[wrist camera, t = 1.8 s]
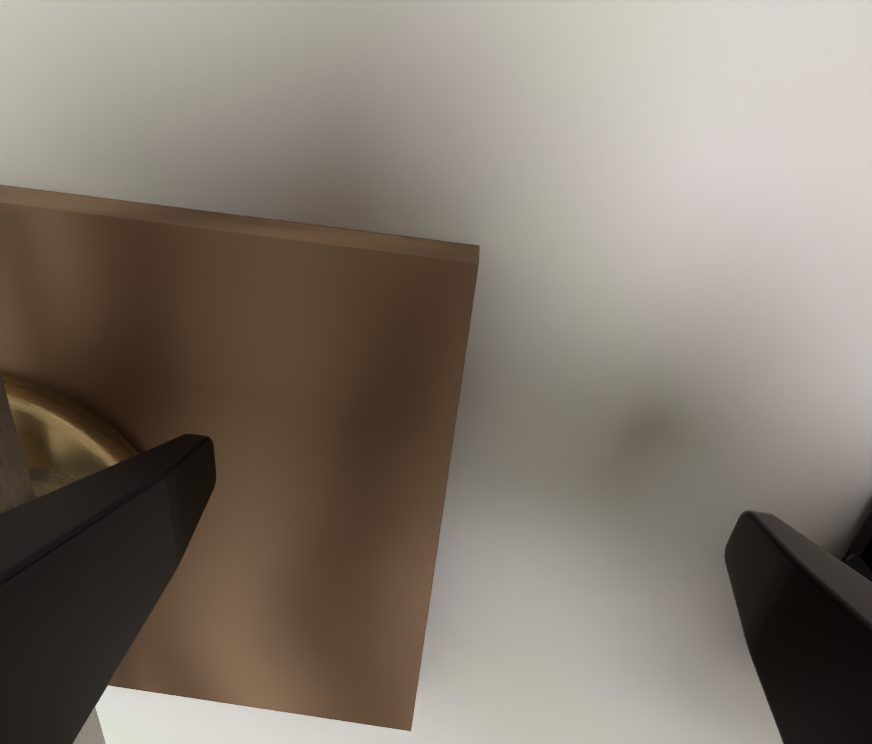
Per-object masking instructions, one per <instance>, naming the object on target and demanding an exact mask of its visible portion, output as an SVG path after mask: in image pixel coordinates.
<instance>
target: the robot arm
mask: <svg viewBox="0 0 872 744" xmlns="http://www.w3.org/2000/svg"><path fill="white" fill-rule="evenodd" d="M215 484H216V464H215V453H214V444H213V441H212V439H211V438H210V437H209V436H205V435H198V434H190V433H187V434H184V435H181V436H179V437H177V438H174V439H172V440H170V441H167V442H165V443H163V444H161V445H158V446H156V447H154V448H151V449H149V450H147V451H144V452H142V453H140V454H137V455H135V456H133V457H131V458H128V459H126V460H124V461H121V462H119V463H117V464H114V465H112V466H110V467H107V468H105V469H103V470H100V471H98V472H96V473H94V474H91V475H89V476H87V477H84V478H82V479H80V480H77V481H75V482H73V483H70V484H68V485H66V486H64V487H61V488H59V489H57V490H54V491H52V492H50V493H47V494H45V495H43V496H40V497H38V498H36V499H34V500H31V501H29V502H27V503H24V504H22V505H20V506H17V507H15V508H13V509H10V510H8V511H6V512H4V513H1V514H0V744H73V743H74V741H75V739H76V738H77V736H78V734H79V733H80V731H81V729H82V728H83V726H84V724H85V723H86V721H87V719H88V717H89V716H90V714H91V712H92V711H93V709H94V707H95V706H96V704H97V702H98V701H99V699H100V697H101V696H102V694H103V692H104V691H105V689H106V687H107V686H108V684H109V682H110V681H111V679H112V677H113V676H114V674H115V672H116V671H117V669H118V667H119V666H120V664H121V662H122V661H123V659H124V657H125V656H126V654H127V652H128V650H129V649H130V647H131V645H132V644H133V642H134V640H135V639H136V637H137V635H138V634H139V632H140V630H141V629H142V627H143V625H144V624H145V622H146V620H147V619H148V617H149V615H150V614H151V612H152V610H153V609H154V607H155V605H156V604H157V602H158V600H159V599H160V597H161V595H162V594H163V592H164V590H165V588H166V587H167V585H168V583H169V582H170V580H171V578H172V577H173V575H174V573H175V571H176V570H177V568H178V566H179V564H180V562H181V560H182V558H183V556H184V554H185V552H186V549H187V547H188V545H189V543H190V541H191V538H192V536H193V534H194V532H195V530H196V527H197V525H198V523H199V521H200V519H201V516H202V514H203V512H204V510H205V508H206V505H207V503H208V501H209V499H210V497H211V494H212V492H213V490H214V487H215ZM724 556H725V563H726V567H727V571H728V575H729V579H730V582H731V586H732V590H733V594H734V598H735V602H736V605H737V609H738V613H739V617H740V621H741V625H742V628H743V632H744V636H745V639H746V643H747V646H748V649H749V652H750V655H751V658H752V661H753V664H754V666H755V669H756V672H757V674H758V677H759V680H760V682H761V685H762V688H763V690H764V693H765V696H766V698H767V701H768V704H769V706H770V709H771V712H772V714H773V717H774V720H775V722H776V725H777V728H778V730H779V733H780V735H781V738H782V741H783V743H784V744H872V511H871V513H870V515H869V516H868V518H867V520H866V521H865V523H864V525H863V526H862V528H861V530H860V531H859V533H858V535H857V536H856V538H855V540H854V541H853V543H852V545H851V546H850V548H849V550H848V551H847V553H846V555H845V556H844V558H843V560H842V561H840V560H838V559H837V558H836V557H834V556H833V555H831V554H830V553H828V552H827V551H825V550H824V549H822V548H821V547H819V546H818V545H817V544H815V543H814V542H812V541H811V540H809V539H808V538H806V537H805V536H803V535H802V534H800V533H799V532H798V531H796V530H795V529H793V528H792V527H790V526H789V525H787V524H786V523H784V522H783V521H781V520H780V519H779V518H777V517H776V516H774V515H772V514H769V513H763V512H756V511H745V512H743V513H742V514H741V515H740V517H739V519H738V521H737V523H736V525H735V527H734V530H733V532H732V534H731V536H730V538H729V540H728V543H727V545H726V548H725V555H724Z"/></svg>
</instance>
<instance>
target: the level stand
mask: <svg viewBox="0 0 872 744" xmlns="http://www.w3.org/2000/svg"><path fill="white" fill-rule="evenodd" d="M478 264H479V246H475V245H467V244H459V243H451V242H444V241H436V240H428V239H420V238H412V237H404V236H396V235H388V234H381V233H373V232H365V231H357V230H349V229H341V228H333V227H325V226H318V225H310V224H302V223H294V222H286V221H278V220H270V219H262V218H255V217H247V216H239V215H231V214H223V213H215V212H207V211H199V210H192V209H184V208H176V207H168V206H160V205H152V204H144V203H136V202H129V201H121V200H113V199H105V198H97V197H89V196H81V195H73V194H66V193H58V192H50V191H42V190H34V189H26V188H18V187H10V186H3V185H0V373H1V375H4V376H9V377H14V378H17V379H21V380H24V381H27V382H31V383H34V384H37V385H39V386H42V387H44V388H46V389H49V390H51V391H54V392H56V393H58V394H60V395H62V396H64V397H66V398H68V399H70V400H72V401H74V402H76V403H77V404H79V405H81V406H82V407H84V408H85V409H87V410H88V411H90V412H92V413H93V414H95V415H96V416H98V417H99V418H100V419H102V420H103V421H104V422H106V423H107V424H108V425H109V426H111V427H112V428H113V429H114V430H116V431H117V432H118V433H119V434H120V435H121V436H122V437H123V438H124V439H125V440H126V441H127V442H129V443H130V444H131V445H132V446H133V447H134V449H135V450H136V451H137V452H138V453H139V454H140V453H142V452H144V451H147V450H149V449H151V448H154V447H156V446H158V445H161V444H163V443H165V442H167V441H170V440H172V439H174V438H177V437H179V436H181V435H184V434H187V433H190V434H198V435H205V436H209V437H210V438H211V439H212V441H213V444H214V453H215V464H216V484H215V487H214V490H213V492H212V494H211V497H210V499H209V501H208V503H207V505H206V508H205V510H204V512H203V514H202V516H201V519H200V521H199V523H198V525H197V527H196V530H195V532H194V534H193V536H192V538H191V541H190V543H189V545H188V547H187V549H186V552H185V554H184V556H183V558H182V560H181V562H180V564H179V566H178V568H177V570H176V571H175V573H174V575H173V577H172V578H171V580H170V582H169V583H168V585H167V587H166V588H165V590H164V592H163V594H162V595H161V597H160V599H159V600H158V602H157V604H156V605H155V607H154V609H153V610H152V612H151V614H150V615H149V617H148V619H147V620H146V622H145V624H144V625H143V627H142V629H141V630H140V632H139V634H138V635H137V637H136V639H135V640H134V642H133V644H132V645H131V647H130V649H129V650H128V652H127V654H126V656H125V657H124V659H123V661H122V662H121V664H120V666H119V667H118V669H117V671H116V672H115V674H114V676H113V677H112V679H111V681H110V682H109V684H108V685H110V686H116V687H123V688H130V689H136V690H143V691H149V692H156V693H163V694H169V695H176V696H183V697H189V698H196V699H202V700H209V701H216V702H222V703H229V704H235V705H242V706H249V707H255V708H262V709H268V710H275V711H282V712H288V713H295V714H302V715H308V716H315V717H321V718H328V719H335V720H341V721H348V722H354V723H361V724H368V725H374V726H381V727H388V728H394V729H401V730H407V731H411V727H412V720H413V713H414V706H415V699H416V692H417V685H418V678H419V671H420V665H421V658H422V651H423V644H424V637H425V630H426V623H427V616H428V609H429V602H430V595H431V589H432V582H433V575H434V568H435V561H436V554H437V547H438V540H439V533H440V526H441V519H442V513H443V506H444V499H445V492H446V485H447V478H448V471H449V464H450V457H451V450H452V444H453V437H454V430H455V423H456V416H457V409H458V402H459V395H460V388H461V381H462V374H463V368H464V361H465V354H466V347H467V340H468V333H469V326H470V319H471V312H472V305H473V298H474V292H475V285H476V278H477V271H478Z"/></svg>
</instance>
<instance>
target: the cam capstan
mask: <svg viewBox="0 0 872 744" xmlns="http://www.w3.org/2000/svg"><path fill="white" fill-rule="evenodd" d="M137 454H139V453H138V452H137V451H136V450H135V449H134V447H133V446H132V445H131V444H130V443H129V442H127V441H126V440H125V439H124V438H123V437H122V436H121V435H120V434H119V433H118V432H117V431H116V430H114V429H113V428H112V427H111V426H109V425H108V424H107V423H106V422H104V421H103V420H102V419H100V418H99V417H98V416H96V415H95V414H93V413H92V412H90V411H88V410H87V409H85V408H84V407H82V406H81V405H79V404H77V403H76V402H74V401H72V400H70V399H68V398H66V397H64V396H62V395H60V394H58V393H56V392H54V391H51V390H49V389H46V388H44V387H42V386H39V385H37V384H34V383H31V382H27V381H24V380H21V379H17V378H14V377H9V376H4V375H1V373H0V514H1V513H4V512H6V511H8V510H10V509H13V508H15V507H17V506H20V505H22V504H24V503H27V502H29V501H31V500H34V499H36V498H38V497H40V496H43V495H45V494H47V493H50V492H52V491H54V490H57V489H59V488H61V487H64V486H66V485H68V484H70V483H73V482H75V481H77V480H80V479H82V478H84V477H87V476H89V475H91V474H94V473H96V472H98V471H100V470H103V469H105V468H107V467H110V466H112V465H114V464H117V463H119V462H121V461H124V460H126V459H128V458H131V457H133V456H135V455H137ZM73 744H106V743H105V740H104V736H103V733H102V729H101V726H100V722H99V719H98V715H97V712H96V708H95V707H94V709H93V711H92V712H91V714H90V716H89V717H88V719H87V721H86V723H85V724H84V726H83V728H82V729H81V731H80V733H79V734H78V736H77V738H76V739H75V741H74V743H73Z"/></svg>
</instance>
